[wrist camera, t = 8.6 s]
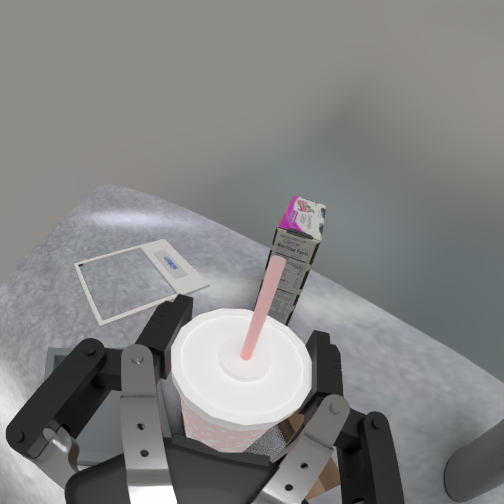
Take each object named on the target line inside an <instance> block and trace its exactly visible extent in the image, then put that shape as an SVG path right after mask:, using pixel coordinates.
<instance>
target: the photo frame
mask: <svg viewBox="0 0 504 504" xmlns="http://www.w3.org/2000/svg"><path fill="white" fill-rule="evenodd" d="M137 250H141V251H142V252H143V253H144V255H145V256H146V257H147V259H148V260H149V261H150V262H151V264H152V265H153V266H154V267H155V269H156V270H157V271H158V272H159V274H160V275H161V276H162V277H163V278H164V280H165V281H166V282H167V283H168V284H169V286H170V287H171V288H172V289H173V290H174V292H175V293H176V294H174V295H171V296H168V297H166V298H163V299H160V300H158V301H155V302H152V303H150V304H147V305H144V306H142V307H139V308H136V309H133V310H131V311H128V312H125V313H123V314H120V315H117V316H114V317H112V318H109V319H106V320H103V321H102V319H101V317H100V315H99V312H98V310H97V308H96V306H95V304H94V302H93V299H92V297H91V295H90V293H89V290H88V288H87V286H86V283H85V281H84V278H83V276H82V273H81V271H80V268H79V266H78V265H80V264H83V266H85V265H88V264H91V263H95V262H98V261H102V260H105V259H109V258H112V257H116V256H119V255H123V254H127V253H130V252H134V251H137ZM74 267H75V269H76V272H77V275H78V277H79V280H80V283H81V285H82V288H83V290H84V293H85V295H86V297H87V300H88V302H89V304H90V307H91V309H92V311H93V314H94V316H95V318H96V320H97V322H98V324H99V326H100V328H102V327H105V326H108V325H110V324H113V323H116V322H119V321H121V320H124V319H127V318H129V317H132V316H134V315H137V314H140V313H142V312H145V311H148V310H150V309H153V308H156V307H158V305H160V304H161V303H163V302H164V301H166V300H167V301H170V302H171V301H174V300H175V298H176V297H177V295H178V294H182V295H185V296H187V295H189V294H192V293H194V292H197V291H200V290H202V289H205V288H207V287H209V283H208V282H207V281H206V280H205V279H204V278H203V277H202V276H200V275H199V274H198V273H197V272H196V271H195V270H194V269H193V268H192V267H191V266H190V265H189V264H188V263H187V262H186V261H185V260H184V258H183V257H182V256H181V255H180V254H179V253H178V252H177V251H176V250H175V249H174V248H173V247H172V246H171V245H170V244H169V243H168V242H167V241H166V240H165V239H162V240H158V241H154V242H151V243H147V244H143V245H139V246H135V247H132V248H128V249H124V250H121V251H117V252H113V253H110V254H106V255H103V256H99V257H96V258H92V259H89V260H85V261H82V262H78V263H75V264H74Z"/></svg>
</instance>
